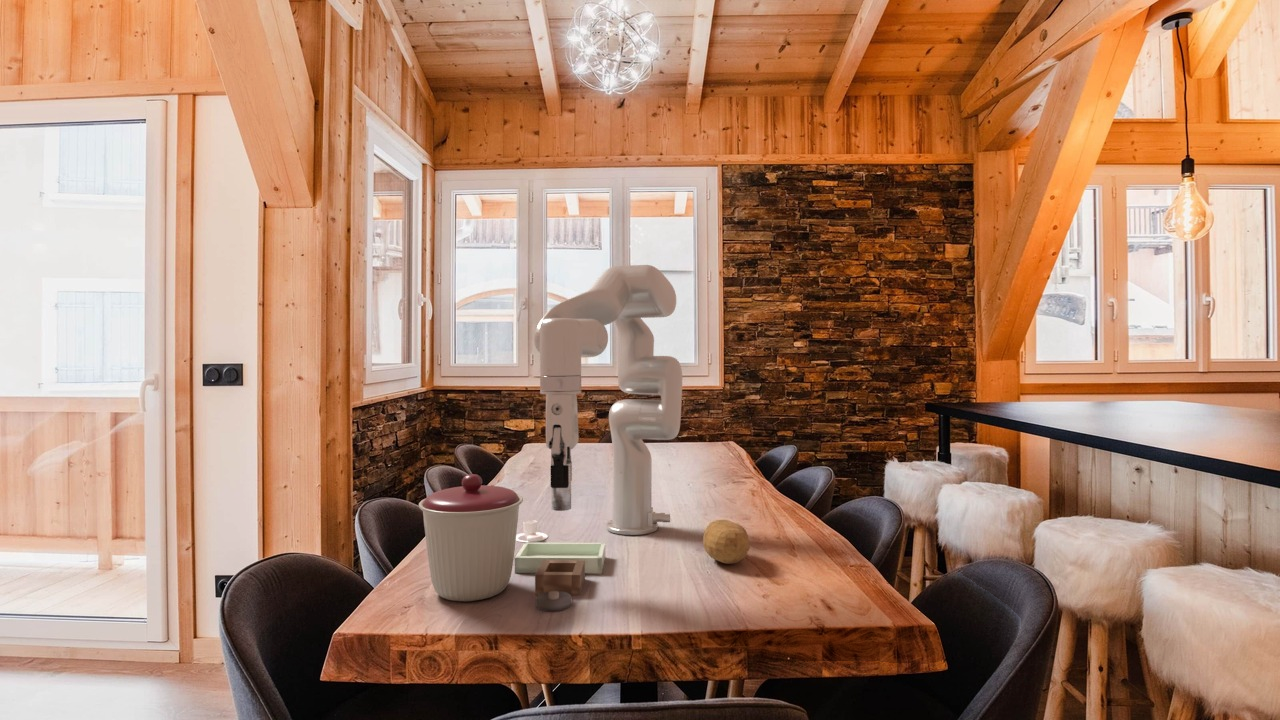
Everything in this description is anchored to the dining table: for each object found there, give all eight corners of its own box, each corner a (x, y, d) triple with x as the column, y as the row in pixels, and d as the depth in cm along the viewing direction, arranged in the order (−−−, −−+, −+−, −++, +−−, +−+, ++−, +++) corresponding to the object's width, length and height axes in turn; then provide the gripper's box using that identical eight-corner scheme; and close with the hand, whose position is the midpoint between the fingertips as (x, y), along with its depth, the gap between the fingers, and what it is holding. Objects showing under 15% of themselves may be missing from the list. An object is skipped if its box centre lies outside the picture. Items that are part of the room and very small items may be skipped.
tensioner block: (584, 578, 121) (584, 560, 121) (575, 611, 105) (575, 590, 105) (542, 578, 121) (542, 560, 121) (526, 611, 105) (526, 590, 105)
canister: (444, 572, 124) (444, 464, 124) (534, 576, 122) (534, 466, 122) (399, 609, 106) (399, 483, 106) (504, 614, 104) (504, 486, 104)
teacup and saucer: (543, 545, 143) (543, 527, 143) (508, 545, 144) (508, 527, 144) (550, 534, 152) (550, 517, 152) (517, 534, 152) (517, 517, 152)
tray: (605, 557, 134) (605, 542, 134) (601, 573, 124) (601, 558, 124) (524, 556, 134) (524, 542, 134) (514, 572, 124) (514, 557, 124)
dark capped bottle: (572, 505, 119) (572, 457, 119) (569, 510, 115) (569, 461, 115) (553, 505, 119) (552, 457, 119) (550, 510, 115) (549, 461, 115)
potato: (739, 549, 139) (739, 513, 139) (758, 571, 125) (758, 531, 125) (695, 551, 138) (695, 514, 138) (710, 573, 124) (710, 532, 124)
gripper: (575, 388, 108) (576, 495, 109) (585, 382, 125) (586, 475, 125) (532, 388, 108) (532, 495, 109) (547, 383, 125) (548, 475, 125)
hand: (561, 484), depth 117 cm, fingers closed on dark capped bottle, 3 cm apart
